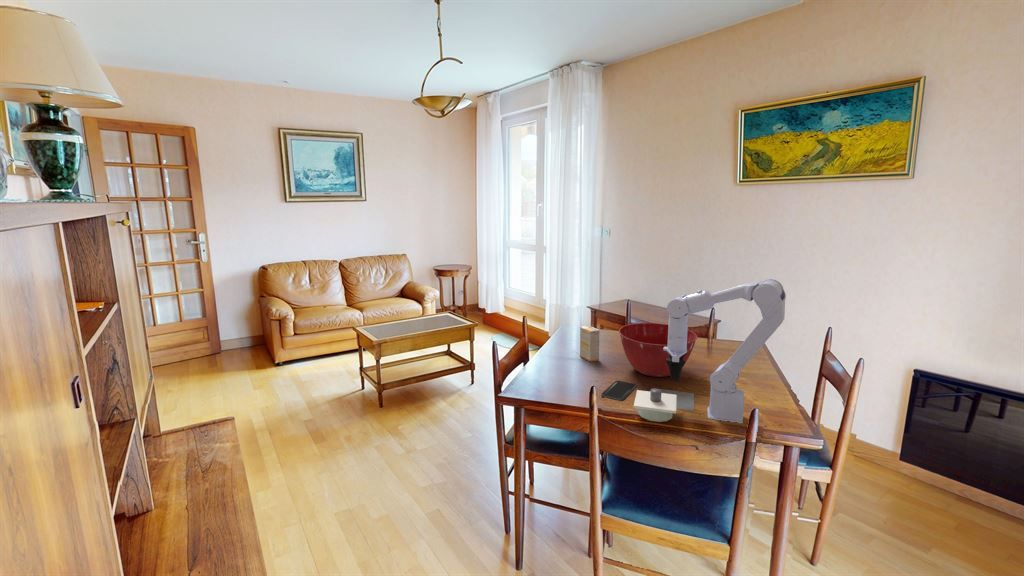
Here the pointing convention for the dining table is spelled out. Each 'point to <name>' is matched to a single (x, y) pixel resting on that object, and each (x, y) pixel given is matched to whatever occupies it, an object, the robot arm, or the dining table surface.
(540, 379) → the dining table surface
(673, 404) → the lid
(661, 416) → the bowl
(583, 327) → the supplement box
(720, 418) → the robot arm
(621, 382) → the phone
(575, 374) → the dining table surface
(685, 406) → the mat
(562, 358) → the dining table surface
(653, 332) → the mixing bowl
